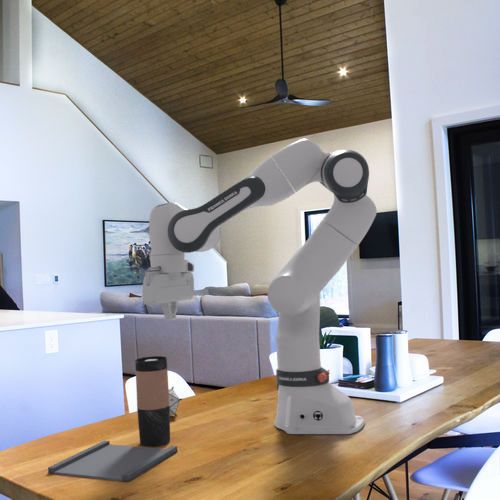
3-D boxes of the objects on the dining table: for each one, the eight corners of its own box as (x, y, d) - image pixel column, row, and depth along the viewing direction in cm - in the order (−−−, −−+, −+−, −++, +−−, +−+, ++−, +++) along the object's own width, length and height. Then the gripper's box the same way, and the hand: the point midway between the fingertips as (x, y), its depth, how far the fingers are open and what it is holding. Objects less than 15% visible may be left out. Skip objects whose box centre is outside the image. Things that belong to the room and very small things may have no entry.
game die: (171, 431, 161) (174, 407, 156) (144, 420, 163) (145, 396, 157) (184, 408, 168) (187, 384, 163) (158, 398, 170) (160, 374, 165)
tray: (177, 451, 131) (177, 446, 131) (128, 481, 113) (128, 475, 113) (104, 445, 138) (104, 440, 138) (48, 473, 121) (48, 467, 121)
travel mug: (176, 438, 141) (172, 356, 142) (161, 448, 134) (157, 361, 134) (148, 437, 143) (144, 356, 144) (132, 446, 136) (128, 361, 137)
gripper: (157, 266, 138) (159, 324, 138) (197, 265, 157) (199, 316, 157) (134, 267, 141) (137, 324, 140) (176, 266, 160) (179, 316, 159)
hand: (170, 320), depth 149 cm, fingers closed
